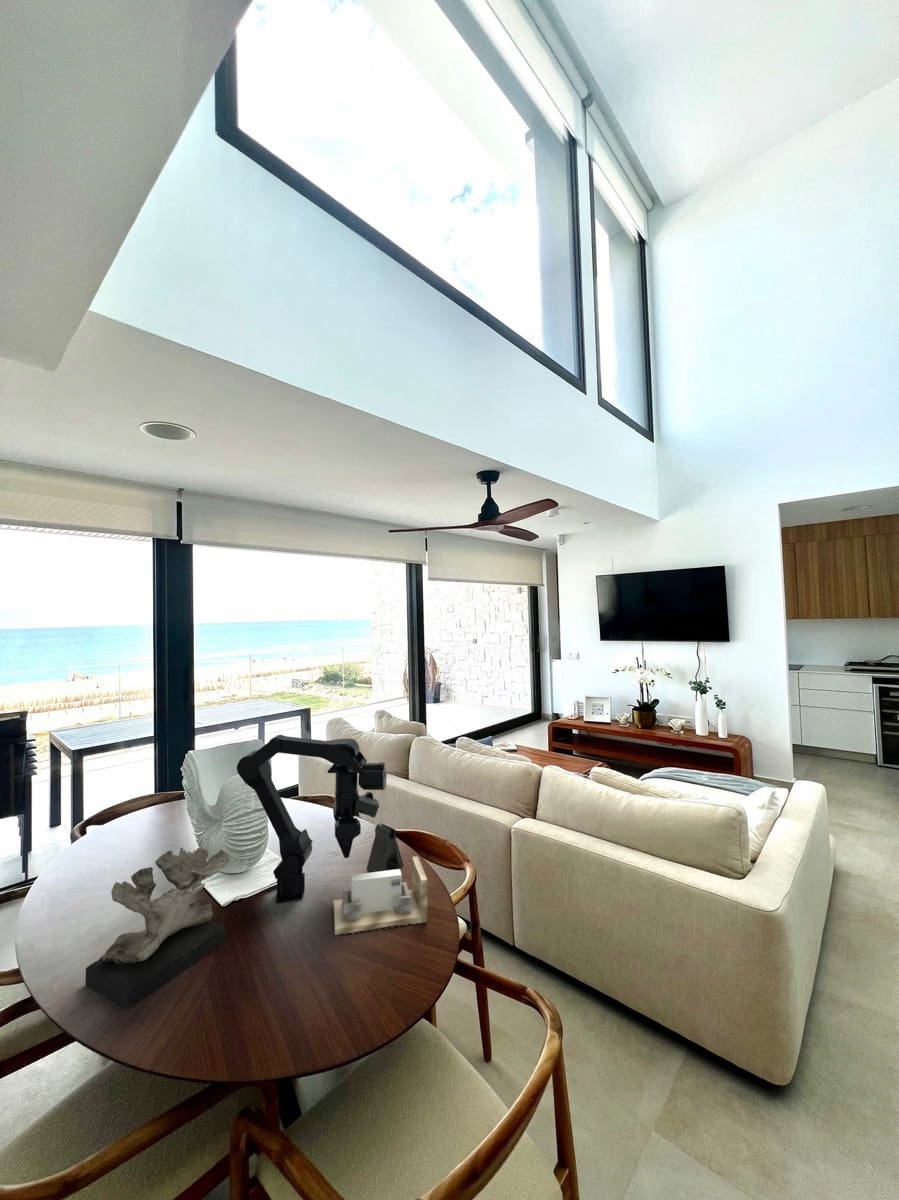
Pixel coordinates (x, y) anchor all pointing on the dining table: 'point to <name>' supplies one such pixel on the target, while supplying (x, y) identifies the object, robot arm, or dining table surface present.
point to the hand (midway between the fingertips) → (345, 849)
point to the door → (376, 890)
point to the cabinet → (405, 910)
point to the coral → (159, 929)
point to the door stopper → (384, 850)
